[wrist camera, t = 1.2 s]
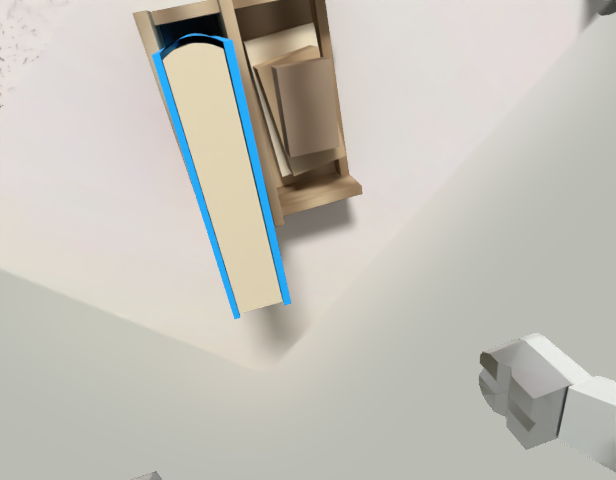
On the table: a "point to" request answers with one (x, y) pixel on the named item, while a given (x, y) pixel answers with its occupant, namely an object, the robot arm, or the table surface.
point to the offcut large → (266, 50)
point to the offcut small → (306, 105)
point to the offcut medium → (268, 91)
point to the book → (224, 166)
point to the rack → (240, 26)
